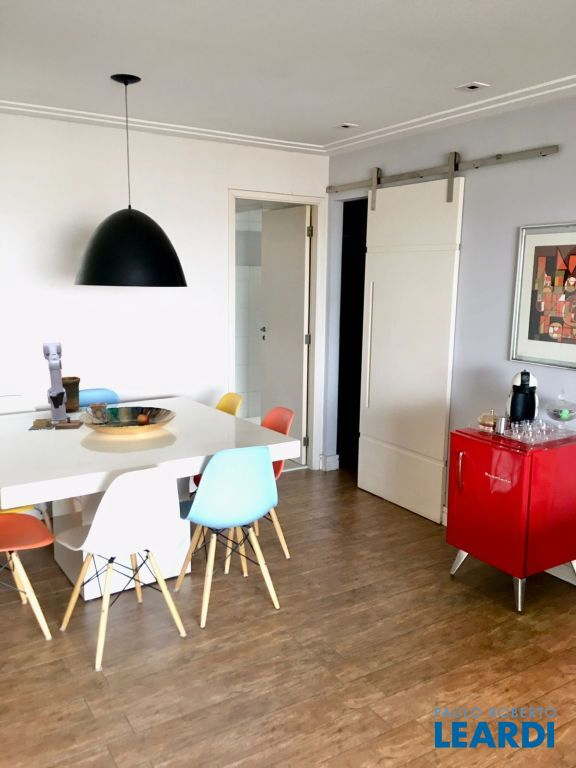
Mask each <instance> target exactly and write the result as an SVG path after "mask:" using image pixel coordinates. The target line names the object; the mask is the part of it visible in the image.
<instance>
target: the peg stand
mask: <svg viewBox="0 0 576 768" xmlns="http://www.w3.org/2000/svg"><path fill="white" fill-rule="evenodd" d="M80 420H81V419H71V417H70V416H68V417H67V418H66V419H65V420H58V422H57V424H56V425H55V427H54V429H55V431H57V430H75V429H76V430H78V429H79V428H80V427H81V426H82V425H83V424H84V422H83V423H82V422H81V421H80Z"/></svg>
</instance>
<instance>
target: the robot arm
mask: <svg viewBox="0 0 576 768" xmlns="http://www.w3.org/2000/svg"><path fill="white" fill-rule="evenodd" d="M62 352H63V350H62V343H61V342H49V343H44V342H43V343H42V353H43V358H44V359H45V360H46V361H48V363H47V364H48V371H49V375H50V376H49V377H50V387H49V389H47V391H46V393H47V404H50V413H51V418H50V419H51V422H53V421H66V420H67V417H69V416H68V415H67V414H66V407H65V403H64V402H66V392H65V389H64V388H63V387H62V371H63V370H62V369H63V368H62V366H63V365H62V360H61V358H62V356H63V355H62Z"/></svg>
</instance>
